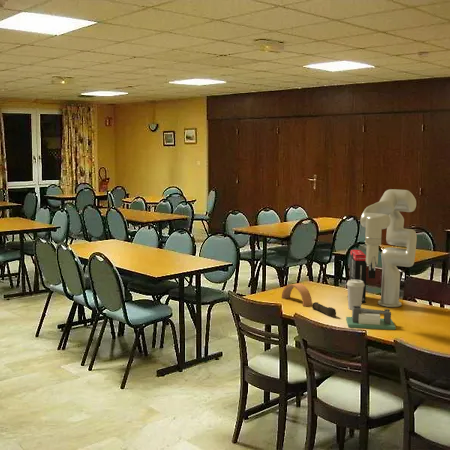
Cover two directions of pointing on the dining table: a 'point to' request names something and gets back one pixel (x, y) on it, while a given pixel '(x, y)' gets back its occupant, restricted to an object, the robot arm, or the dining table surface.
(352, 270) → the graphics card box
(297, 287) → the arch
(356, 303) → the coffee cup
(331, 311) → the hand tool
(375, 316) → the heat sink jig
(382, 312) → the steel strap
